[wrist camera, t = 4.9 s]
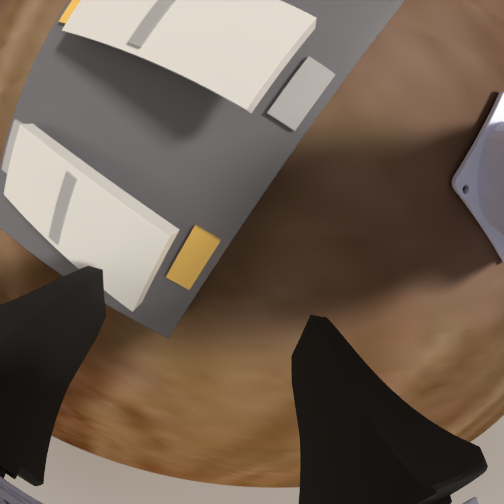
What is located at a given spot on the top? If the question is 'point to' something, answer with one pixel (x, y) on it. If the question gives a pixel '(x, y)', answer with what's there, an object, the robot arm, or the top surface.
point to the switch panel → (180, 139)
